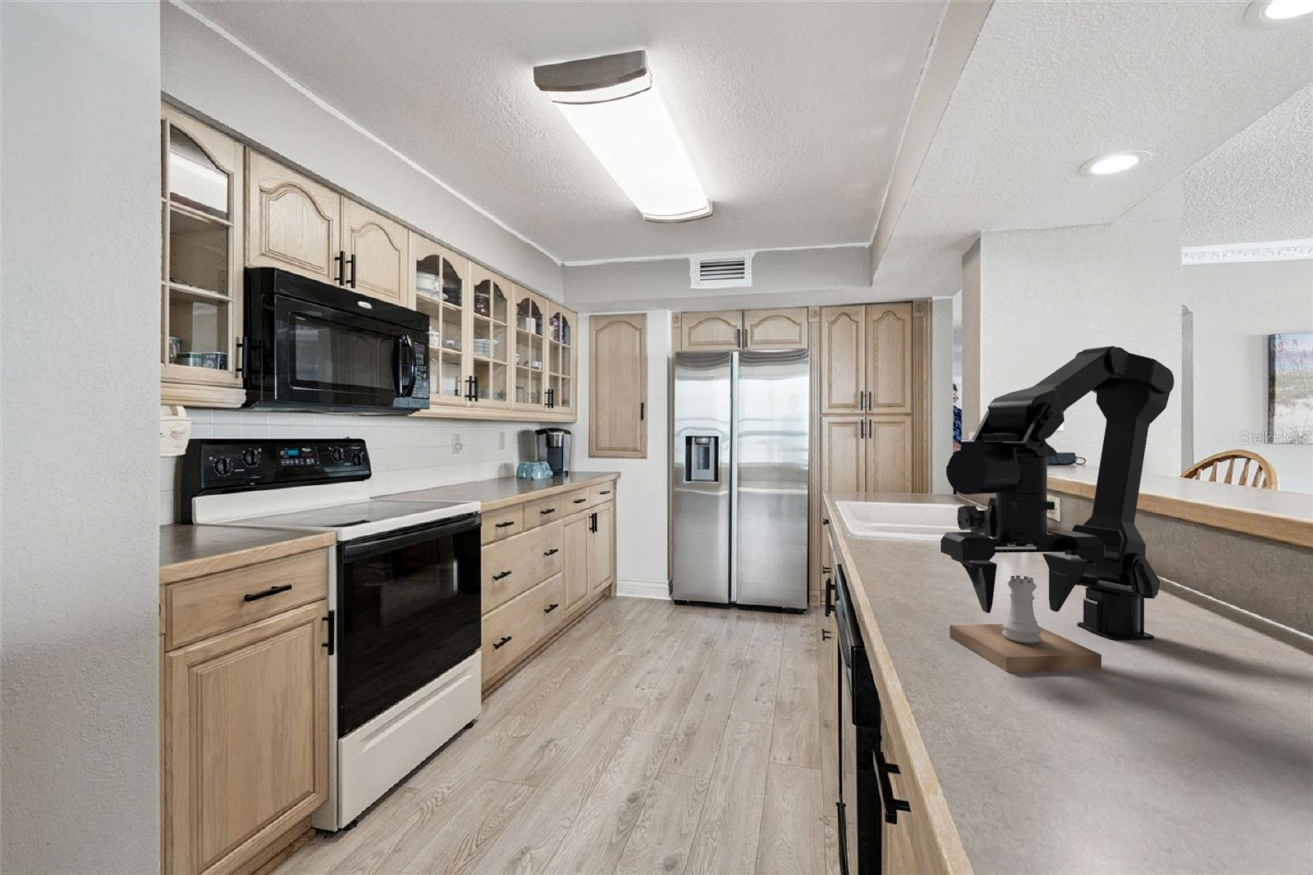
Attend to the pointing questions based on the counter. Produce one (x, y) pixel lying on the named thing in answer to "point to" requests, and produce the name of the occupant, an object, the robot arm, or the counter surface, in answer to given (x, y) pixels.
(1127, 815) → the counter surface
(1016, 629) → the rook chess piece
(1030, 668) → the walnut block
